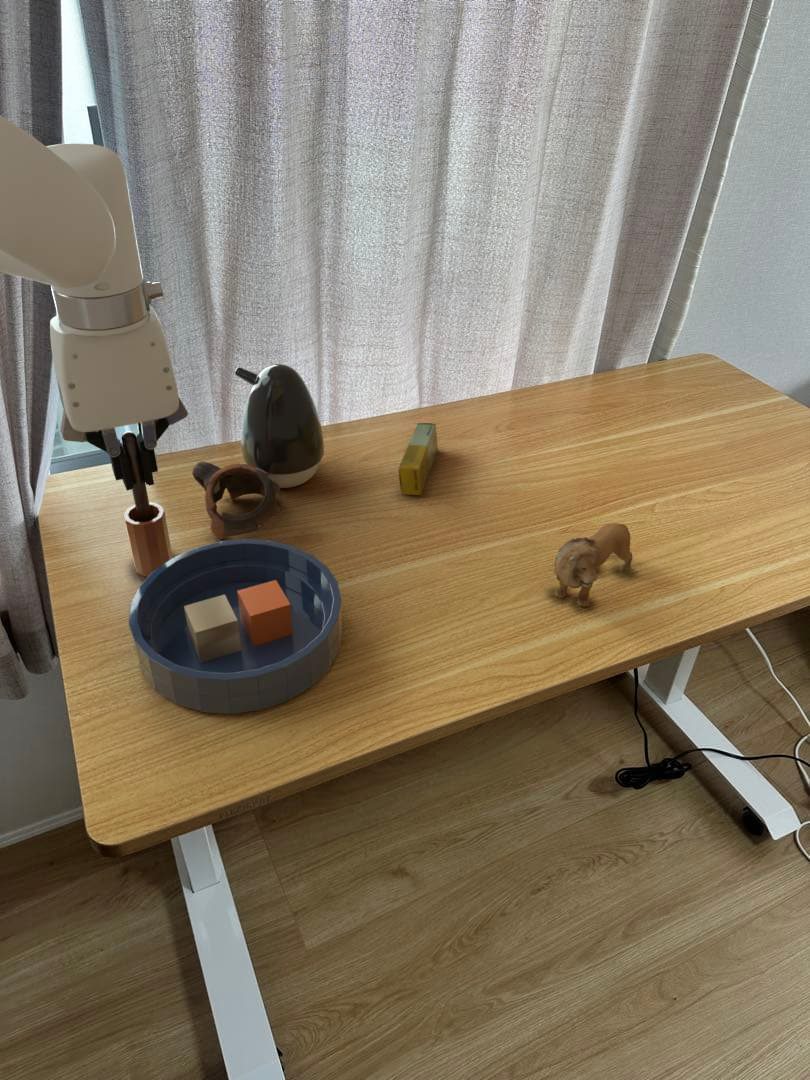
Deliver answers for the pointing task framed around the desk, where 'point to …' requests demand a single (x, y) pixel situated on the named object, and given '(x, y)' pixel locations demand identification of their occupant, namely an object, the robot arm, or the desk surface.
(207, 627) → the pale block
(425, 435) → the medication box
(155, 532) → the holder
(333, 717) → the desk surface
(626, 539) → the lion figurine
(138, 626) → the bowl
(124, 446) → the stick
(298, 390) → the pump dispenser
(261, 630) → the orange block
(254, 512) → the pottery mug
